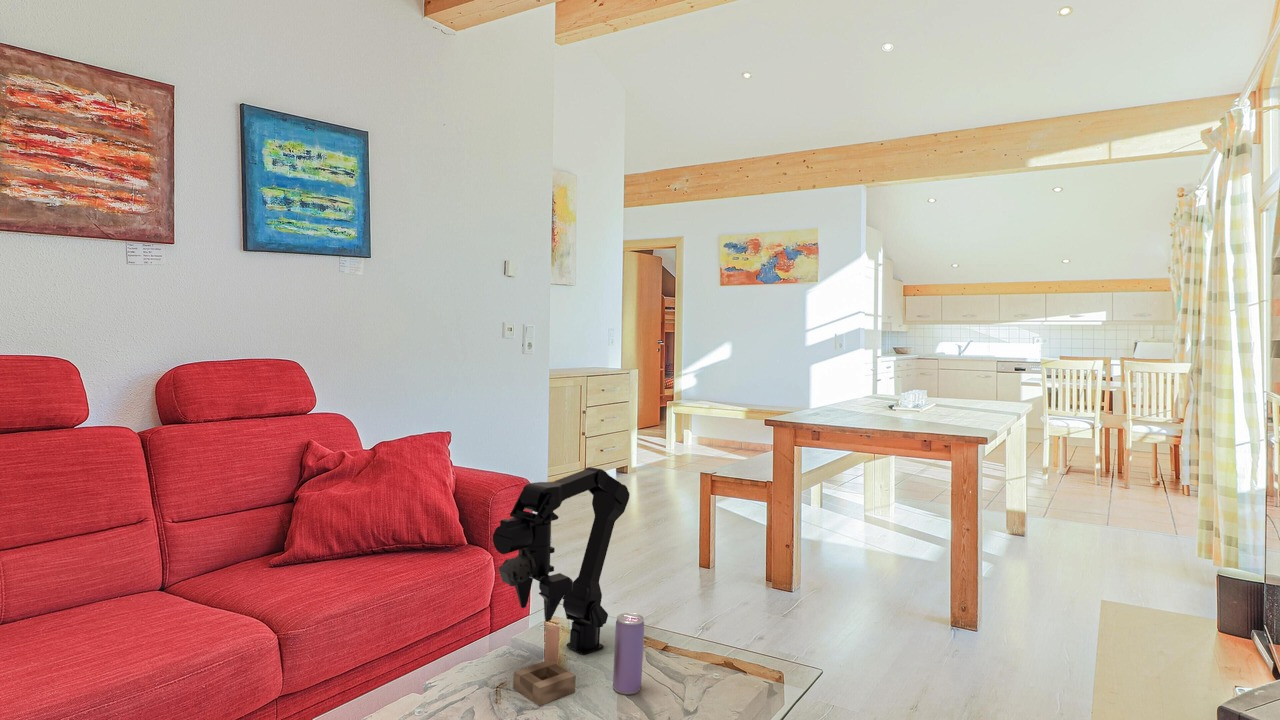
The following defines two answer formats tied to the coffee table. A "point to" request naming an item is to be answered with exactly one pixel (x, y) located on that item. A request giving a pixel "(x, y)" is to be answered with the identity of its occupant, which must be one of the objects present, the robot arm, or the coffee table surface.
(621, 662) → the beverage can
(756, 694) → the coffee table surface
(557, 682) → the socket
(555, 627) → the peg
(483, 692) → the coffee table surface
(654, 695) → the coffee table surface
